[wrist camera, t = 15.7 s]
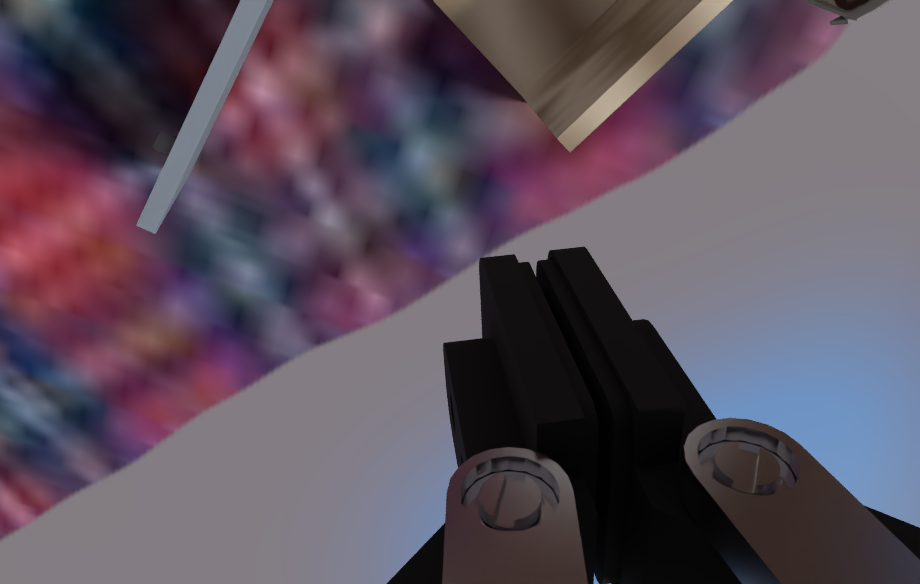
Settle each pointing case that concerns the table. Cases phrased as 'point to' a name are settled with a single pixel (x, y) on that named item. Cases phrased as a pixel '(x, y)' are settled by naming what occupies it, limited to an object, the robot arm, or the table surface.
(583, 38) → the tan open box
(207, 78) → the door
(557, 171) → the table surface
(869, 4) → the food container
